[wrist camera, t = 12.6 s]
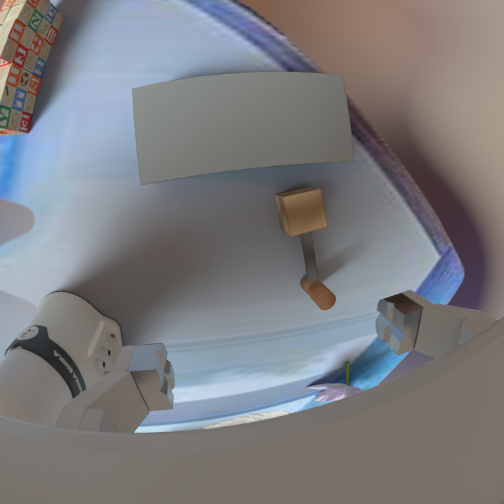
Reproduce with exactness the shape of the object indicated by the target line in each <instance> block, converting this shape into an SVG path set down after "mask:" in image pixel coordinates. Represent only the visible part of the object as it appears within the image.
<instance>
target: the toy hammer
mask: <svg viewBox="0 0 504 504" xmlns="http://www.w3.org/2000/svg"><path fill="white" fill-rule="evenodd" d="M275 199H276V204H277V209H278V213H279V218H280V223H281V227H282V230H283V231H285V232H286V233H287V234H289V235H290V236H295V235H299V234H300V237H301V243H302V248H303V254H304V259H305V265H306V271H307V275H305V276H304V277H303V278H302V279H301V287H302V288H303V289H304V290H305V292H306V293H307V294H308V295H309V296H310V297H311V298H312V300H313V301H314V302H315V303H316V304H317V305H318V307H319V308H320V309H322V310H328V309H330V308H331V307H332V306H333V305H334V304H335V301H336V297H335V295H334V294H333V293H332V292H331V291H330V290H329V289H328V288H327V287H326V286H325V285H324V284H323V283H322V282H320V281H319V279H318V273H317V266H316V260H315V253H314V247H313V241H312V236H311V231H314V230H317V229H321V228H325V227H327V222H326V216H325V210H324V204H323V198H322V193H321V189H317V188H310V187H307V188H303V189H298V190H294V191H289V192H285V193H281V194H276V195H275Z"/></svg>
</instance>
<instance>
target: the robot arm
mask: <svg viewBox="0 0 504 504" xmlns="http://www.w3.org/2000/svg"><path fill="white" fill-rule="evenodd" d="M377 311H378V312H379V316H378V317H377V319H376V331H377V334H378V336H379V338H380V339H381V340H382V341H385V342H388V343H389V348H390V349H391V350H393V351H394V352H395V353H396V354H397V355H400V354H403V353H405V352H408V351H410V350H413V349H414V350H416V351H418V352H421V353H423V354H426V355H428V356H431V357H434V358H436V359H434V360H433V361H430V362H429V363H427V364H425V365H423V366H421V367H418V368H416V369H414V370H412V371H410V372H408V373H406V374H404V375H401V376H399V377H397V378H395V379H392V380H390V381H388V382H385V383H383V384H380V385H378V386H375V387H373V388H370V389H368V390H365V391H362V392H359V393H357V394H354V395H351V396H348V397H345V398H342V399H339V400H336V401H333V402H330V403H327V404H323V405H320V406H317V407H313V408H309V409H306V410H302V411H298V412H294V413H290V414H286V415H282V416H278V417H273V418H269V419H264V420H259V421H254V422H248V423H243V424H237V425H230V426H224V427H216V428H208V429H199V430H189V431H176V432H152V433H133V432H134V431H135V430H136V429H137V428H138V426H139V425H140V424H141V423H142V421H143V420H144V419H145V417H146V416H147V415H148V414H149V411H156V410H168V409H173V398H174V395H173V393H172V389H173V388H174V385H175V380H174V372H173V368H172V365H171V362H169V361H168V360H167V350H166V348H165V345H164V344H163V343H154V344H142V345H129V346H123V343H122V337H121V331H120V327H119V325H118V324H117V323H116V322H115V321H113V320H111V319H109V318H107V317H105V316H102V315H101V314H100V313H99V312H98V311H97V310H96V309H94V308H93V307H92V306H91V305H90V304H89V303H88V302H86V301H85V300H83V299H82V298H80V297H78V296H76V295H74V294H71V293H66V292H55V293H52V294H49V295H48V296H46V297H45V298H44V299H43V300H42V302H41V304H40V306H39V309H38V311H37V313H36V316H35V317H34V319H33V320H32V322H31V324H30V325H29V327H27V328H26V329H25V330H23V331H22V332H21V333H20V334H19V335H18V336H17V338H16V339H15V340H14V341H13V342H12V344H11V345H10V346H9V348H8V349H7V350H6V352H5V357H4V358H3V360H2V361H1V362H0V504H504V317H503V318H502V319H500V320H496V319H495V318H493V317H492V316H490V315H488V314H487V313H485V312H483V311H479V310H472V309H465V308H460V307H454V306H448V305H442V304H432V303H431V302H429V301H428V300H426V299H424V298H423V297H421V296H420V295H418V294H416V293H415V292H413V291H411V290H407V291H405V292H402V293H399V294H396V295H393V296H390V297H387V298H384V299H381V300H379V302H378V305H377ZM112 334H114V335H115V336H113V335H112Z"/></svg>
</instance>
